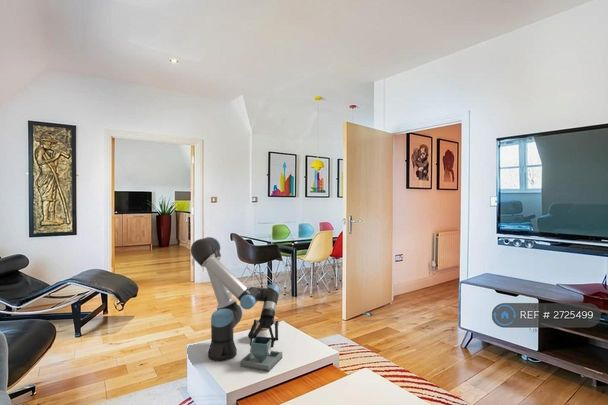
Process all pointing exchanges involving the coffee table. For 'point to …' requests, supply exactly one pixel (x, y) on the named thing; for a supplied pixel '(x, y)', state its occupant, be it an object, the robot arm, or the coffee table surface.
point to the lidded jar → (262, 331)
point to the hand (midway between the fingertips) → (259, 352)
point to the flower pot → (260, 347)
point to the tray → (261, 361)
